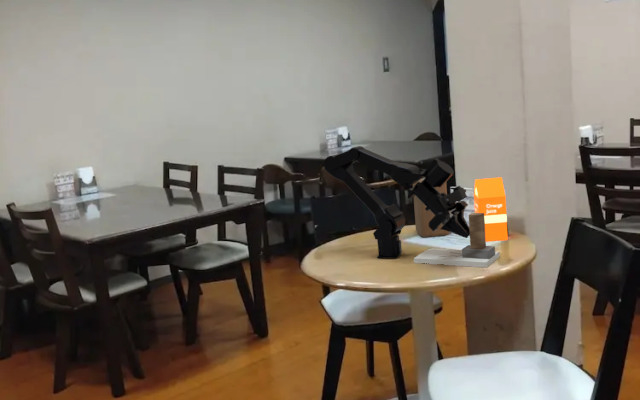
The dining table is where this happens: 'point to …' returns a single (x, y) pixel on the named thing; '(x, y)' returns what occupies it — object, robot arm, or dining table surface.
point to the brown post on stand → (477, 239)
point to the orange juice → (492, 207)
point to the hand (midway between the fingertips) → (469, 235)
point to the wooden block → (427, 216)
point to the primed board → (452, 258)
